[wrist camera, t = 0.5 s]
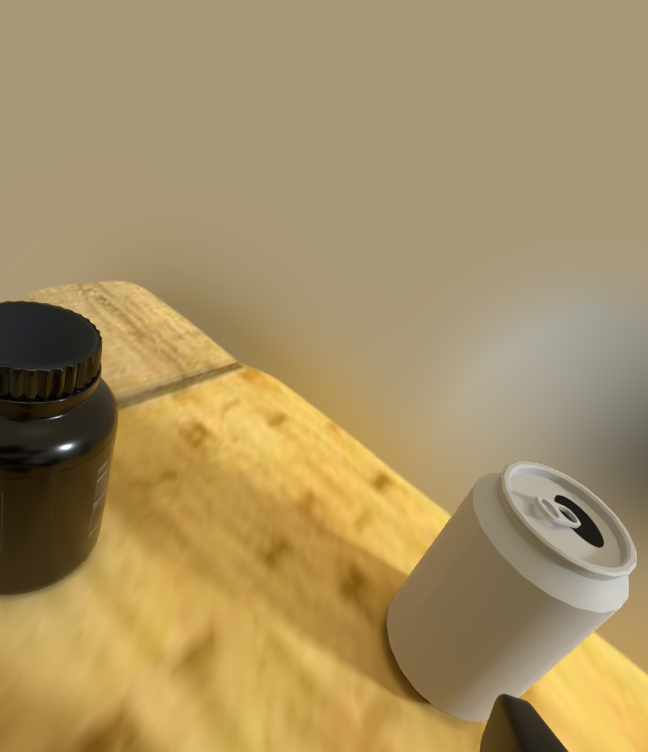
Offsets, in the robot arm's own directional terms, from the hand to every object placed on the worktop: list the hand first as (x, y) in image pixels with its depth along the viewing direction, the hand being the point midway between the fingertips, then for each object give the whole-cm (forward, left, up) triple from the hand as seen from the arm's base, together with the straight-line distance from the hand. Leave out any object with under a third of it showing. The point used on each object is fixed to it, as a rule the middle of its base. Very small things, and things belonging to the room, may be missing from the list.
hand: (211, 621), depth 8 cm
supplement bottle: (+9, +11, -16) cm, 22 cm away
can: (+15, -11, -16) cm, 24 cm away
